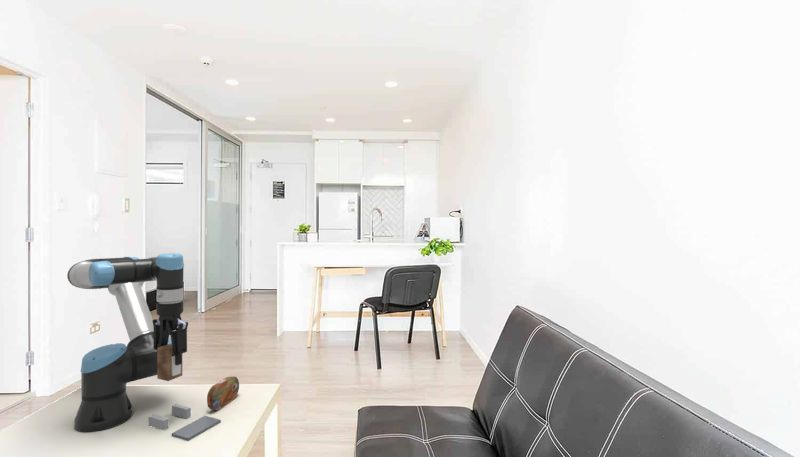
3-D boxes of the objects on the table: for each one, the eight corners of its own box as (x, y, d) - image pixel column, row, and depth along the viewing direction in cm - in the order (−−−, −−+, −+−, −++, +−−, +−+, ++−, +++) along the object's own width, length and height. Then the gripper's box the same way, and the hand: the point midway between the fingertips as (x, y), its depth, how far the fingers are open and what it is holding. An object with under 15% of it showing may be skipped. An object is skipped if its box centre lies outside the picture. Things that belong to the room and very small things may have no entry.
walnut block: (157, 378, 127) (157, 347, 127) (171, 373, 131) (171, 343, 131) (168, 381, 125) (168, 349, 125) (182, 375, 129) (182, 345, 129)
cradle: (148, 425, 125) (148, 416, 125) (175, 412, 134) (175, 403, 134) (163, 430, 122) (163, 420, 122) (190, 416, 131) (190, 407, 131)
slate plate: (171, 435, 119) (171, 433, 119) (204, 417, 130) (204, 415, 130) (188, 440, 117) (188, 438, 117) (220, 422, 128) (220, 419, 128)
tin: (213, 414, 133) (213, 389, 133) (205, 413, 134) (205, 388, 134) (239, 395, 148) (240, 373, 148) (232, 394, 148) (232, 372, 148)
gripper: (139, 301, 128) (139, 372, 128) (179, 306, 121) (179, 382, 121) (161, 297, 135) (161, 365, 135) (200, 301, 128) (200, 373, 128)
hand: (170, 373), depth 128 cm, fingers closed on walnut block, 5 cm apart
